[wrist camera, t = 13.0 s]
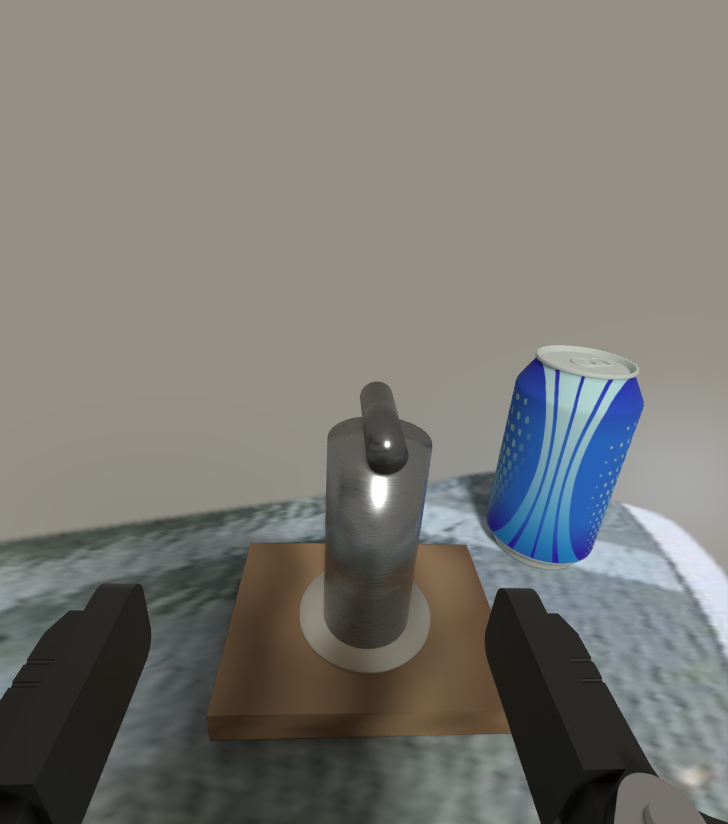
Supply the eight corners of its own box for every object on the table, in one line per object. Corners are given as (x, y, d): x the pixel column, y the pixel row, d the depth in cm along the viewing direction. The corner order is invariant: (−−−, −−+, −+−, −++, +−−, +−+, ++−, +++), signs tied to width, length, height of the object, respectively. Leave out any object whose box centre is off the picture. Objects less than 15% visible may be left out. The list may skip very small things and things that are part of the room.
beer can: (586, 593, 32) (662, 391, 26) (473, 551, 36) (513, 363, 29) (589, 528, 39) (650, 355, 32) (494, 498, 42) (531, 335, 36)
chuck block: (209, 740, 22) (205, 713, 21) (251, 563, 33) (250, 540, 32) (519, 733, 23) (529, 707, 22) (462, 564, 34) (466, 542, 33)
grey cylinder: (321, 659, 24) (326, 436, 18) (325, 571, 30) (329, 379, 24) (415, 658, 24) (450, 439, 19) (401, 571, 30) (424, 383, 24)
